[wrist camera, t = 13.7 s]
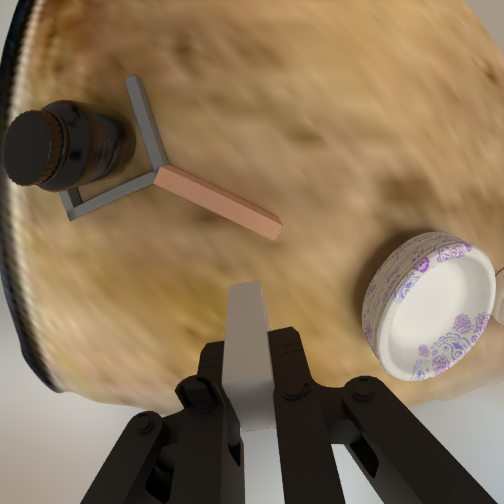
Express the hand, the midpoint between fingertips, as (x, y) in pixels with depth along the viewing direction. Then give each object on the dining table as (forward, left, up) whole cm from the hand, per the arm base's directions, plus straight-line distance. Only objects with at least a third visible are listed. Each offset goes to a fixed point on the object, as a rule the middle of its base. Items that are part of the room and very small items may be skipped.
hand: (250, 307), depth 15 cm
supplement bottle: (-12, -11, -14) cm, 21 cm away
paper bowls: (+10, +17, -14) cm, 24 cm away
